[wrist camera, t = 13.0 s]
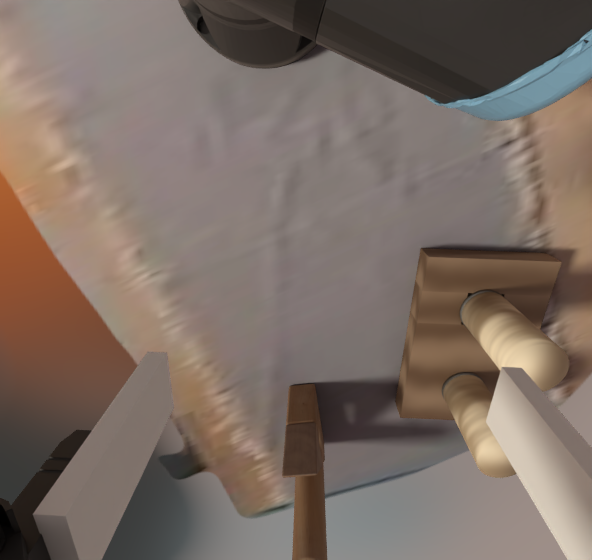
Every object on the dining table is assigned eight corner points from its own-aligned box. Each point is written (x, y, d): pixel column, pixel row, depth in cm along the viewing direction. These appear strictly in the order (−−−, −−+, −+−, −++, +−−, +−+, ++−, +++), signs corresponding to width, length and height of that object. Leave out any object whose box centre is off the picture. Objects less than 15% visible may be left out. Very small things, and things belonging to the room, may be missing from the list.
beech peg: (447, 318, 45) (500, 392, 33) (455, 279, 43) (515, 342, 31) (490, 319, 45) (559, 395, 32) (500, 281, 43) (578, 345, 30)
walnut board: (420, 248, 42) (467, 300, 30) (545, 252, 42) (644, 307, 29) (395, 401, 51) (423, 491, 38) (498, 406, 50) (560, 498, 38)
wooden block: (315, 382, 50) (317, 510, 33) (324, 441, 54) (330, 582, 37) (288, 384, 50) (277, 513, 34) (299, 443, 54) (294, 584, 38)
